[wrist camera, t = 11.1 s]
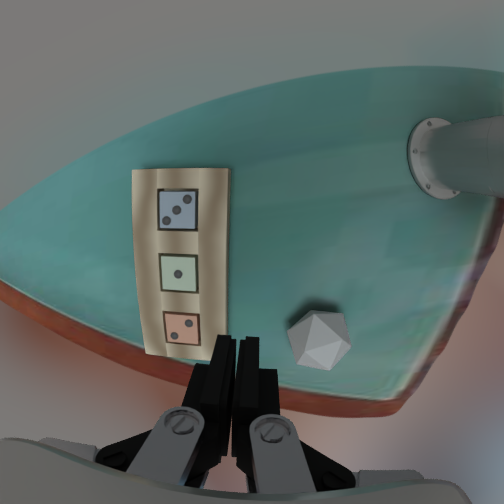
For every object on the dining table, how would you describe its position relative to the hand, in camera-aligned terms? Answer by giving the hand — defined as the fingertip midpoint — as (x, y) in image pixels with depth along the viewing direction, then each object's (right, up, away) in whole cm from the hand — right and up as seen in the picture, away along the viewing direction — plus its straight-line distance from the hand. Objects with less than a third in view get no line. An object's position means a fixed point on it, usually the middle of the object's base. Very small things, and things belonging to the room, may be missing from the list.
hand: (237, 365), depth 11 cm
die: (+10, -6, +31) cm, 33 cm away
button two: (-9, -5, +29) cm, 31 cm away
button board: (-9, +3, +28) cm, 30 cm away
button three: (-8, +10, +25) cm, 28 cm away
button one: (-9, +3, +27) cm, 28 cm away
